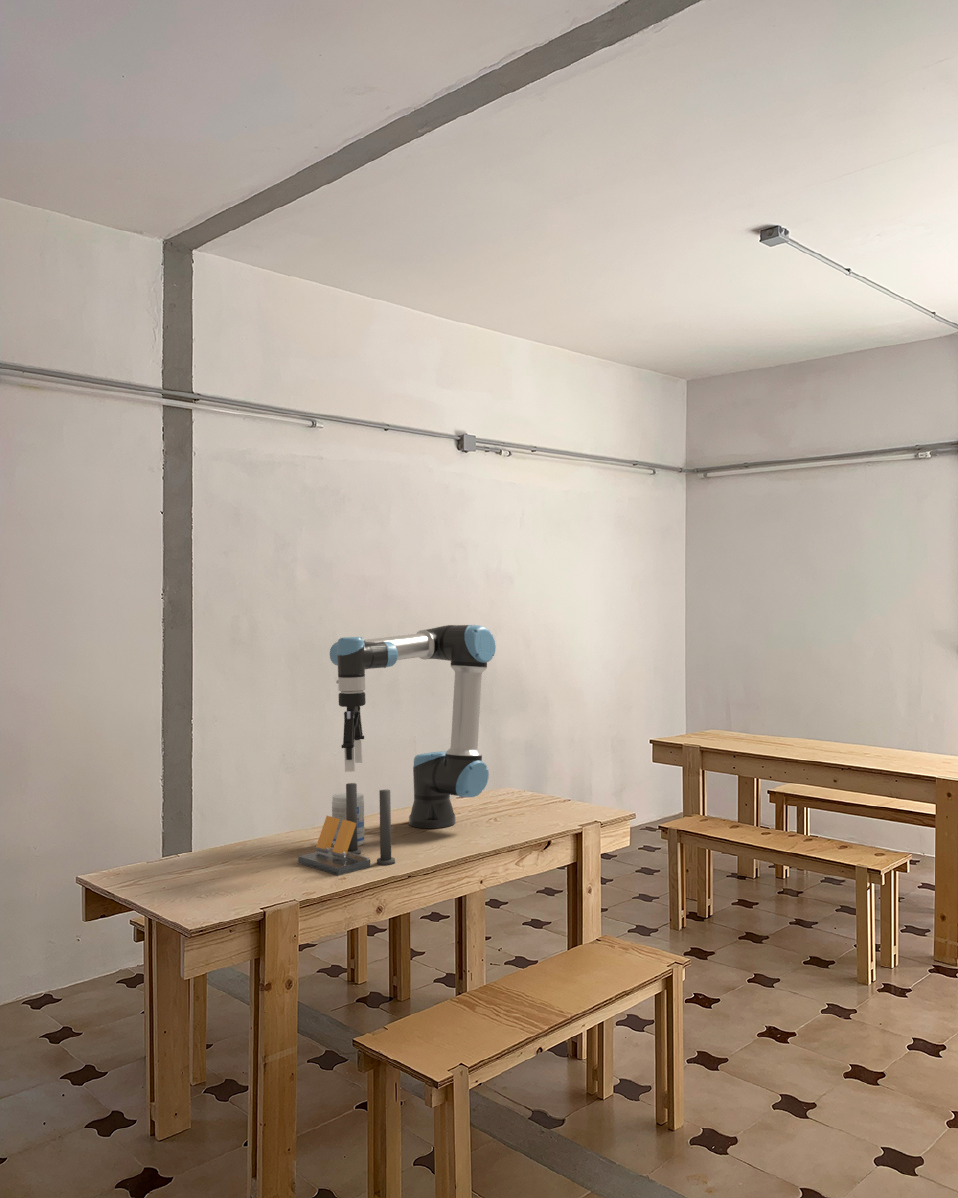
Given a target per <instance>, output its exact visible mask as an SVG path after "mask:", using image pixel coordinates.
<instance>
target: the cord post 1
mask: <svg viewBox="0 0 958 1198" xmlns="http://www.w3.org/2000/svg"><path fill="white" fill-rule="evenodd" d="M357 786H358V785H357V783H356V782H349V783H346V785H345V793H346V815H347V821H352V822H354V823H356V827H355V830H354V833H353V836H352V839H351V842H350V845H349V848H348V851H347V852H351V853H354V854H358V855H361V854H362V849H361V848H359V846H357V793H358V791H357V789H358V788H357Z"/></svg>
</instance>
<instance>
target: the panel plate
mask: <svg viewBox="0 0 958 1198" xmlns="http://www.w3.org/2000/svg"><path fill="white" fill-rule="evenodd" d="M333 848H334V847H332V846H331V848H330V851H329V853H323V852H320V851H315V852H311V853H307V854H302V855H298V857H297V858H298V861H297V862H298V864H299V865H302V866H306V867H309V868H313V869H315V870H319V871H322V872H326V873H328V874H332V875H335V876H341V875H345V874H349V873H354V872H356V871H360V870H363V869H368V868H371V859H370V857H368V856H365V855H361V854H360V855H358V854H354V853H351V852H347V854H346V857H345V858H341V857H337V856H334V855H332V851H333Z"/></svg>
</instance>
